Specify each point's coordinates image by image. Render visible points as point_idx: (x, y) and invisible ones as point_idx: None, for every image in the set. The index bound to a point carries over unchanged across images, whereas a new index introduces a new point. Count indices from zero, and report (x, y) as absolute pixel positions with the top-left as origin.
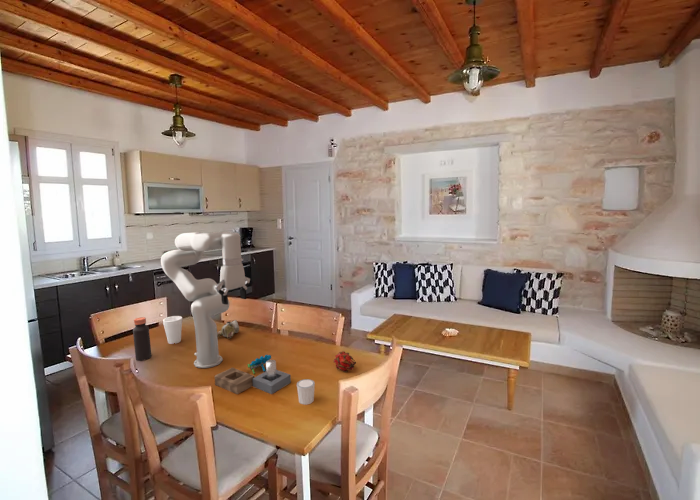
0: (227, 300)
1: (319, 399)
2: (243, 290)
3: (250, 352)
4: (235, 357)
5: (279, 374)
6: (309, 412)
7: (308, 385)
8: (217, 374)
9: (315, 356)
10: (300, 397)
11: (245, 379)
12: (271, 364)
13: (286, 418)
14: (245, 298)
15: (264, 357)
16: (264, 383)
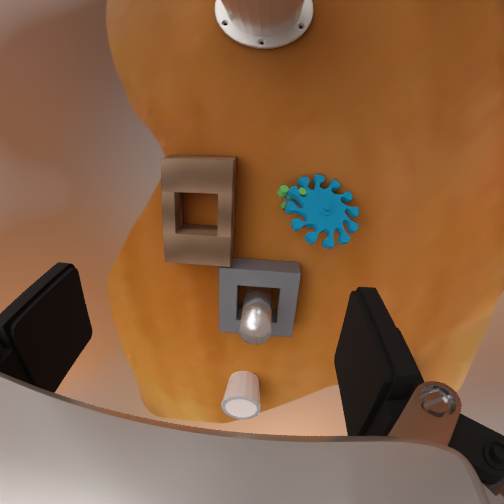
0: (69, 362)
1: (260, 394)
2: (357, 435)
3: (399, 81)
4: (344, 58)
5: (278, 314)
6: (216, 397)
7: (238, 413)
8: (172, 158)
9: (440, 289)
10: (226, 388)
11: (199, 261)
12: (245, 340)
13: (179, 379)
14: (338, 365)
15: (328, 231)
16: (219, 311)
